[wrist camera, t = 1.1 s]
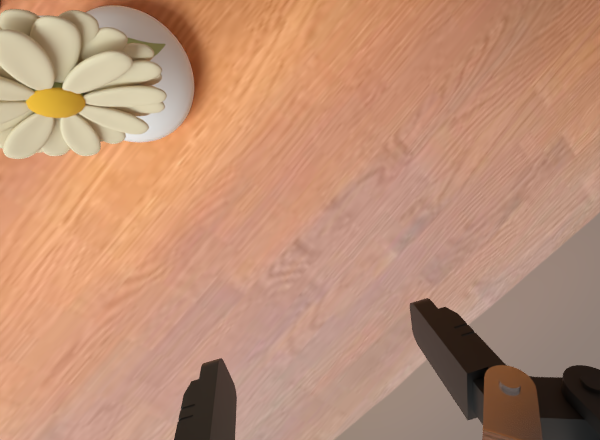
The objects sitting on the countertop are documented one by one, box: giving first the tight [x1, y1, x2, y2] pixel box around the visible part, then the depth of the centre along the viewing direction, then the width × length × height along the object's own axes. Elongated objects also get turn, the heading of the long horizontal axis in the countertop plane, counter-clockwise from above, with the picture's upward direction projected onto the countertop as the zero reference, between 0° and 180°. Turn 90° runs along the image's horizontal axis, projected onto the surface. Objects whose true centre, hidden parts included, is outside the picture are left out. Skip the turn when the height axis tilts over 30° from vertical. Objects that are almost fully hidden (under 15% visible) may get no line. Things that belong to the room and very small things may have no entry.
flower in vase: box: [0, 5, 194, 159], centre depth 19 cm, size 13×11×25 cm
